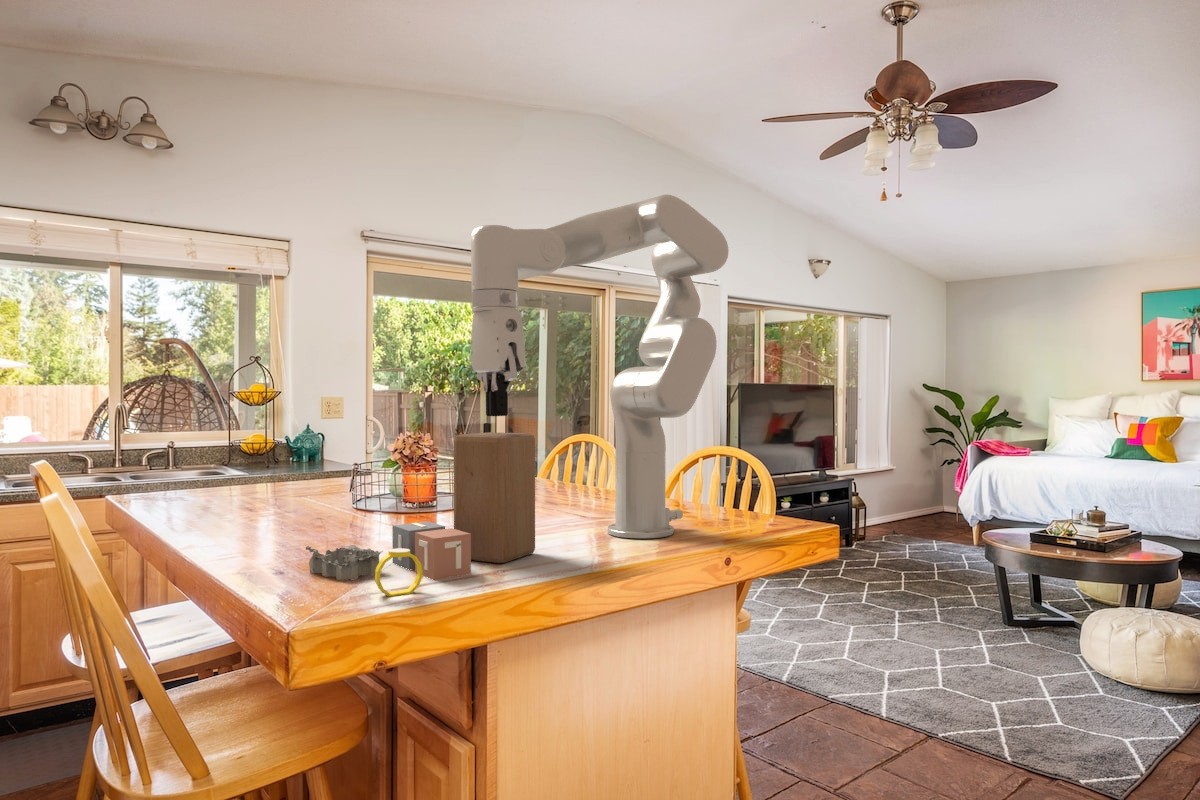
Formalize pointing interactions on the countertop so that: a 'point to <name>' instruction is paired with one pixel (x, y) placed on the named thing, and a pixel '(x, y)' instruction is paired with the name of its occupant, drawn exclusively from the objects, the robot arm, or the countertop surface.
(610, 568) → the countertop surface
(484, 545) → the wooden block
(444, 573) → the terracotta cube seven
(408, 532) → the slate cube one
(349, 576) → the egg carton
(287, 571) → the countertop surface
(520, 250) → the robot arm
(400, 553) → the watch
